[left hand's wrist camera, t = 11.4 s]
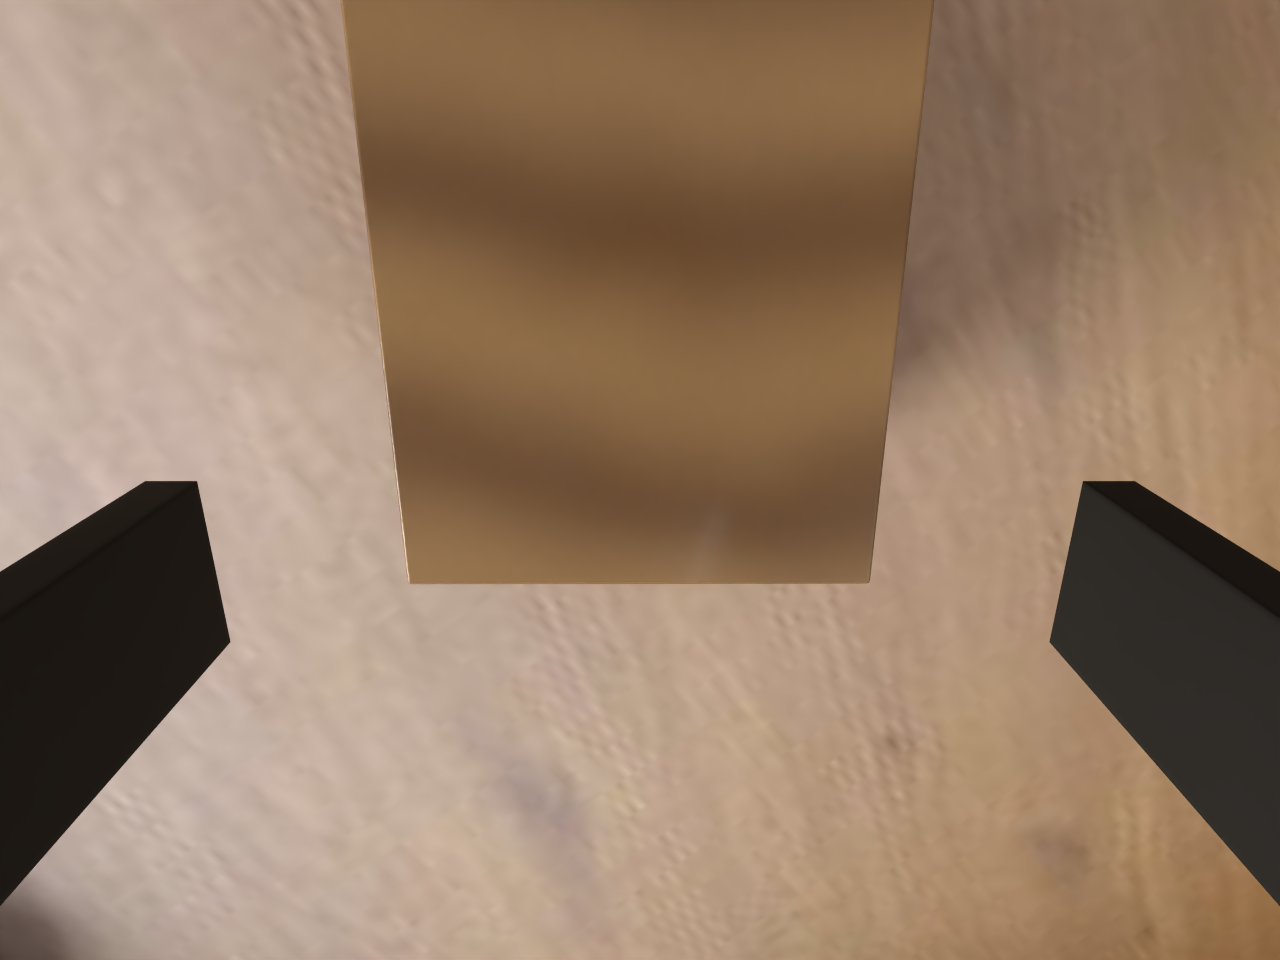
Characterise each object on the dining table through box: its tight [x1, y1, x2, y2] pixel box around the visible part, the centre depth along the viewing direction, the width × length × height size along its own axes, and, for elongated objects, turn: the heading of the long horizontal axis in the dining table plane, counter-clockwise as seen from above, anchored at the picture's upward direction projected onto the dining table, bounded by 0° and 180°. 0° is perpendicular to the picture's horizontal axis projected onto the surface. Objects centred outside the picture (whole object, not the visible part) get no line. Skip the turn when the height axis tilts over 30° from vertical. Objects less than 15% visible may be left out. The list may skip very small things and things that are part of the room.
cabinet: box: [341, 0, 934, 584], centre depth 22 cm, size 18×11×11 cm, turn 0°
